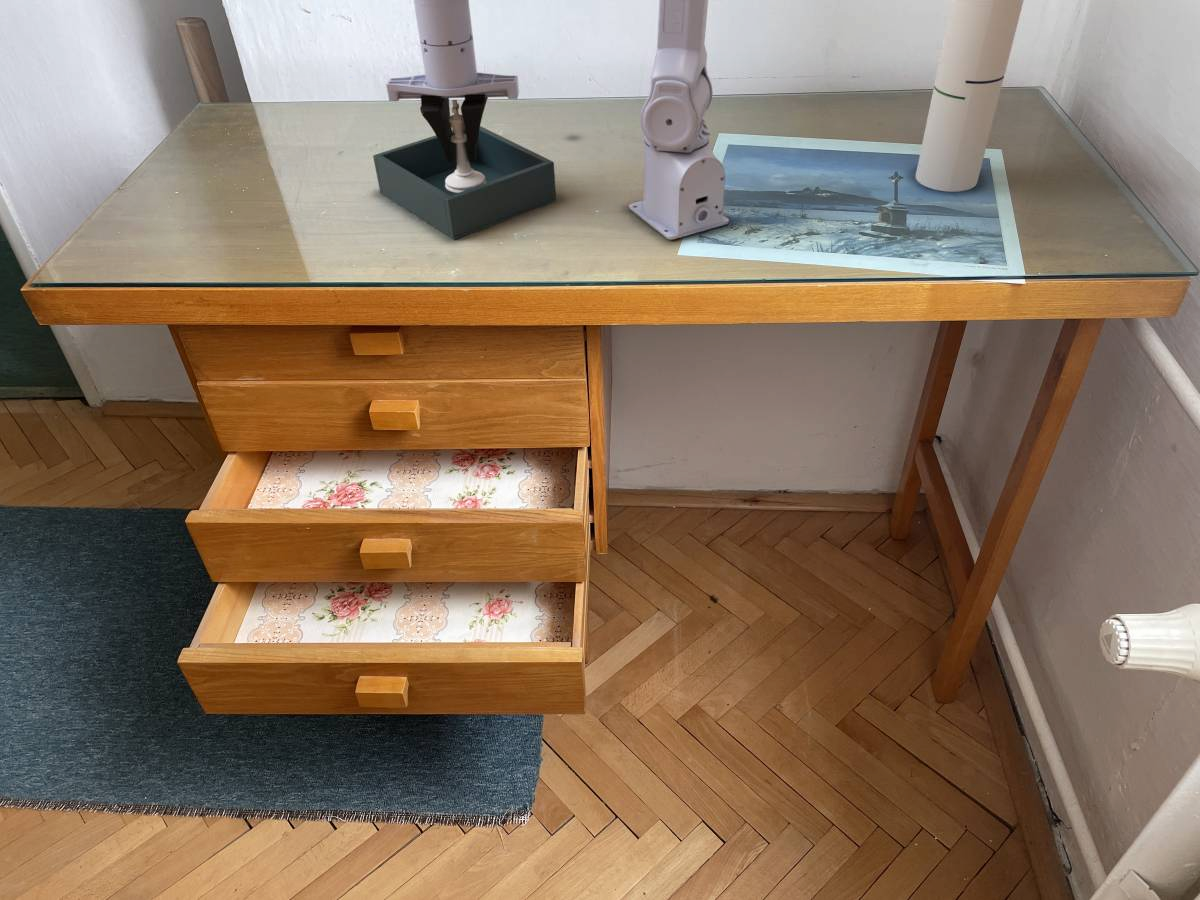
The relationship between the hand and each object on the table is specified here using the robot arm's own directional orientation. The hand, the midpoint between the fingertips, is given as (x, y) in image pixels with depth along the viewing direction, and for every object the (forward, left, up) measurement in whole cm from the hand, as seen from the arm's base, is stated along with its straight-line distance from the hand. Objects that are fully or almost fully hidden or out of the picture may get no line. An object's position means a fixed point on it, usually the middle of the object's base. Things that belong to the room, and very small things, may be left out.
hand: (462, 159), depth 108 cm
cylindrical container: (-26, -52, -5) cm, 58 cm away
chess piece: (0, 0, -3) cm, 3 cm away
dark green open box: (0, 0, -5) cm, 5 cm away
